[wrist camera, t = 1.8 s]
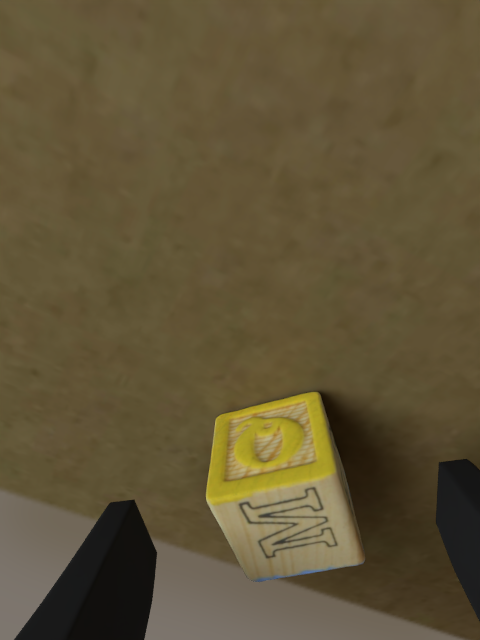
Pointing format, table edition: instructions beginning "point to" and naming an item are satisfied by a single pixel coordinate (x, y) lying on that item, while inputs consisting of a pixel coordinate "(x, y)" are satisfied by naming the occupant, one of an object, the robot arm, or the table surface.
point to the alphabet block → (282, 490)
